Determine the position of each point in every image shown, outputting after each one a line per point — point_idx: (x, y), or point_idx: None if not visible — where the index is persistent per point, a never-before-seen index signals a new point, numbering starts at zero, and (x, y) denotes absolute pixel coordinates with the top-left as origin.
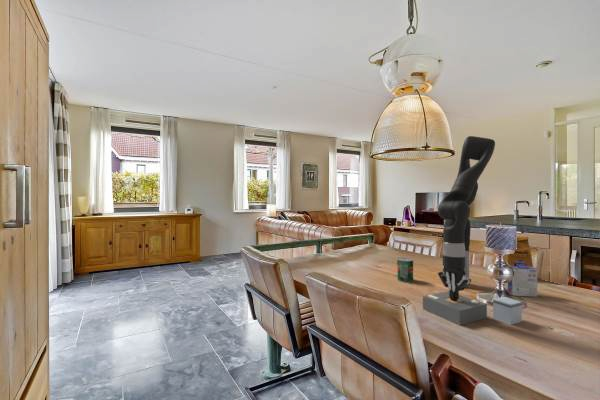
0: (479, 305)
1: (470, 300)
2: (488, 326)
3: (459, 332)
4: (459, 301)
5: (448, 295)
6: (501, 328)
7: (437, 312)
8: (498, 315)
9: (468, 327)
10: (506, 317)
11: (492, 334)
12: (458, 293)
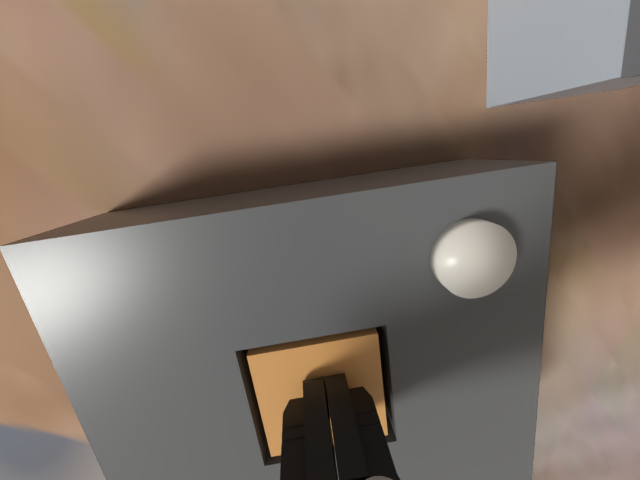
0: (538, 270)
1: (394, 243)
2: (552, 264)
3: None
4: (369, 368)
5: (174, 357)
6: (609, 210)
7: None
8: (559, 95)
9: None
10: (635, 84)
11: (619, 325)
12: (391, 457)
